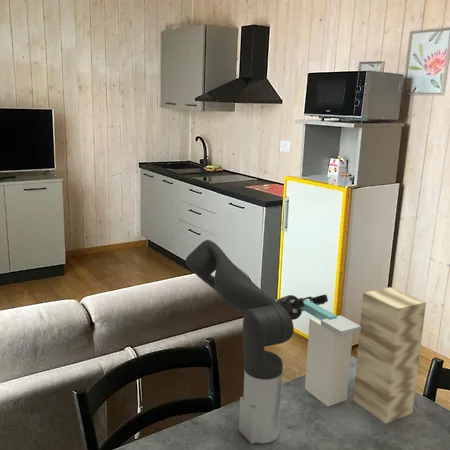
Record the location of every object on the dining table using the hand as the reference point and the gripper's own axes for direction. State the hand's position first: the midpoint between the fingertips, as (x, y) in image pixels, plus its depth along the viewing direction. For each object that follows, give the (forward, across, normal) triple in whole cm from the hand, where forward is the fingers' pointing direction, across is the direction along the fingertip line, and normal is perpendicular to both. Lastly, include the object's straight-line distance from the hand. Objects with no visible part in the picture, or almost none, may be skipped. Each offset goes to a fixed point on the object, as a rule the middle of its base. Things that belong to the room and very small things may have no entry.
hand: (314, 300), depth 143 cm
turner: (+3, 0, +6) cm, 7 cm away
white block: (-7, 0, +26) cm, 27 cm away
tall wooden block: (+4, +10, +32) cm, 34 cm away
